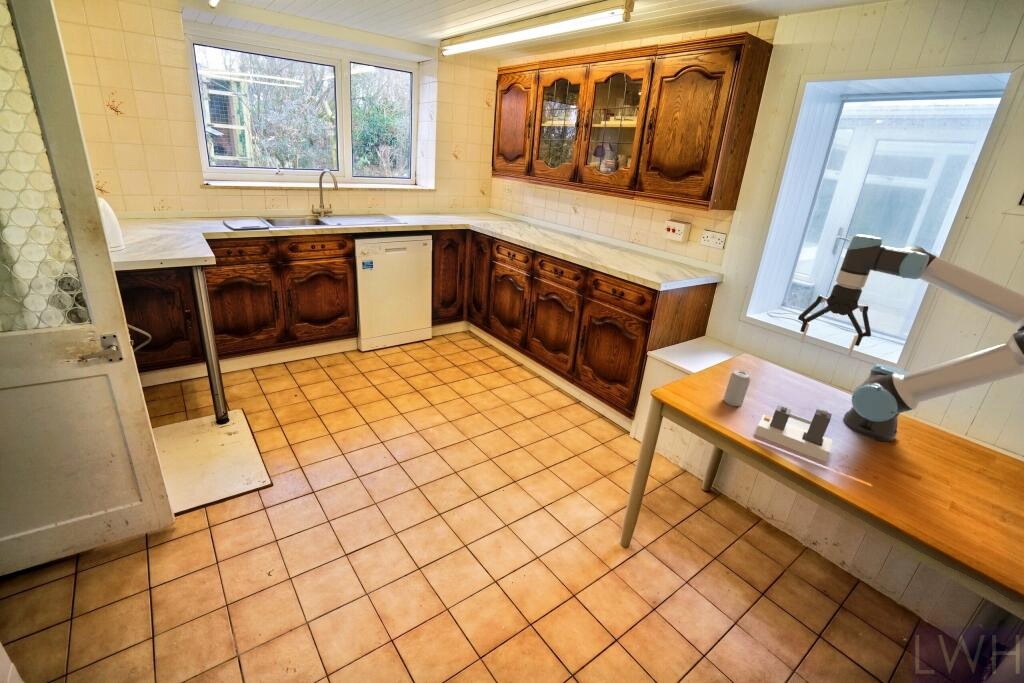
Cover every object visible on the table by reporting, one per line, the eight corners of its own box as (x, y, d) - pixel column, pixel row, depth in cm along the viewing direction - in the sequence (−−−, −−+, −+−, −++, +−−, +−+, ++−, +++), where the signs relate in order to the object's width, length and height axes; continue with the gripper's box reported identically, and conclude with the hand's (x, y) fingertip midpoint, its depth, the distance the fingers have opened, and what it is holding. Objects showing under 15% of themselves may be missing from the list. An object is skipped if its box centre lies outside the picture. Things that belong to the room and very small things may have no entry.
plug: (817, 446, 148) (833, 411, 143) (816, 452, 145) (831, 416, 140) (803, 441, 150) (817, 406, 145) (801, 447, 147) (816, 411, 142)
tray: (823, 429, 160) (825, 425, 160) (820, 441, 153) (822, 438, 152) (784, 415, 167) (786, 411, 166) (780, 426, 159) (781, 423, 159)
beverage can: (743, 402, 173) (752, 373, 168) (740, 409, 167) (750, 379, 163) (724, 396, 175) (733, 367, 171) (721, 403, 170) (730, 373, 166)
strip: (828, 450, 149) (841, 420, 144) (825, 463, 142) (838, 432, 138) (759, 424, 159) (770, 396, 155) (754, 435, 152) (764, 406, 148)
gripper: (896, 292, 145) (869, 355, 153) (804, 274, 157) (784, 333, 165) (898, 297, 139) (870, 363, 147) (803, 278, 151) (782, 339, 160)
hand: (824, 347), depth 157 cm, fingers open, 13 cm apart
